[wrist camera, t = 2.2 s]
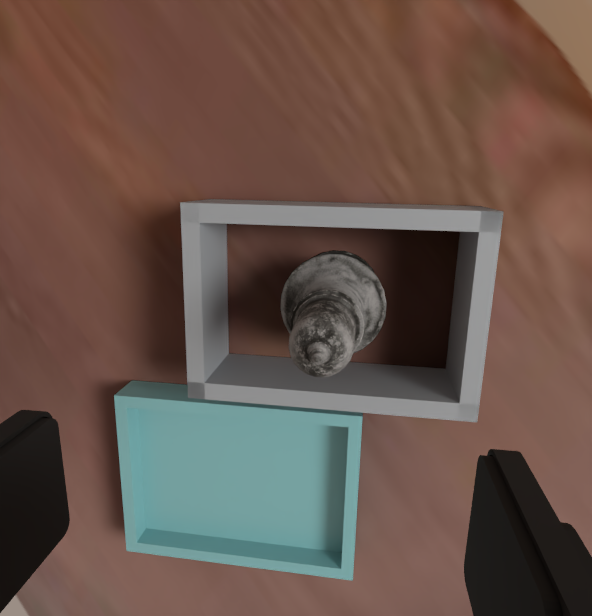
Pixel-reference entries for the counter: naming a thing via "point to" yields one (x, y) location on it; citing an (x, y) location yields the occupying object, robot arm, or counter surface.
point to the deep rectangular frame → (355, 376)
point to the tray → (238, 480)
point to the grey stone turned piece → (331, 311)
